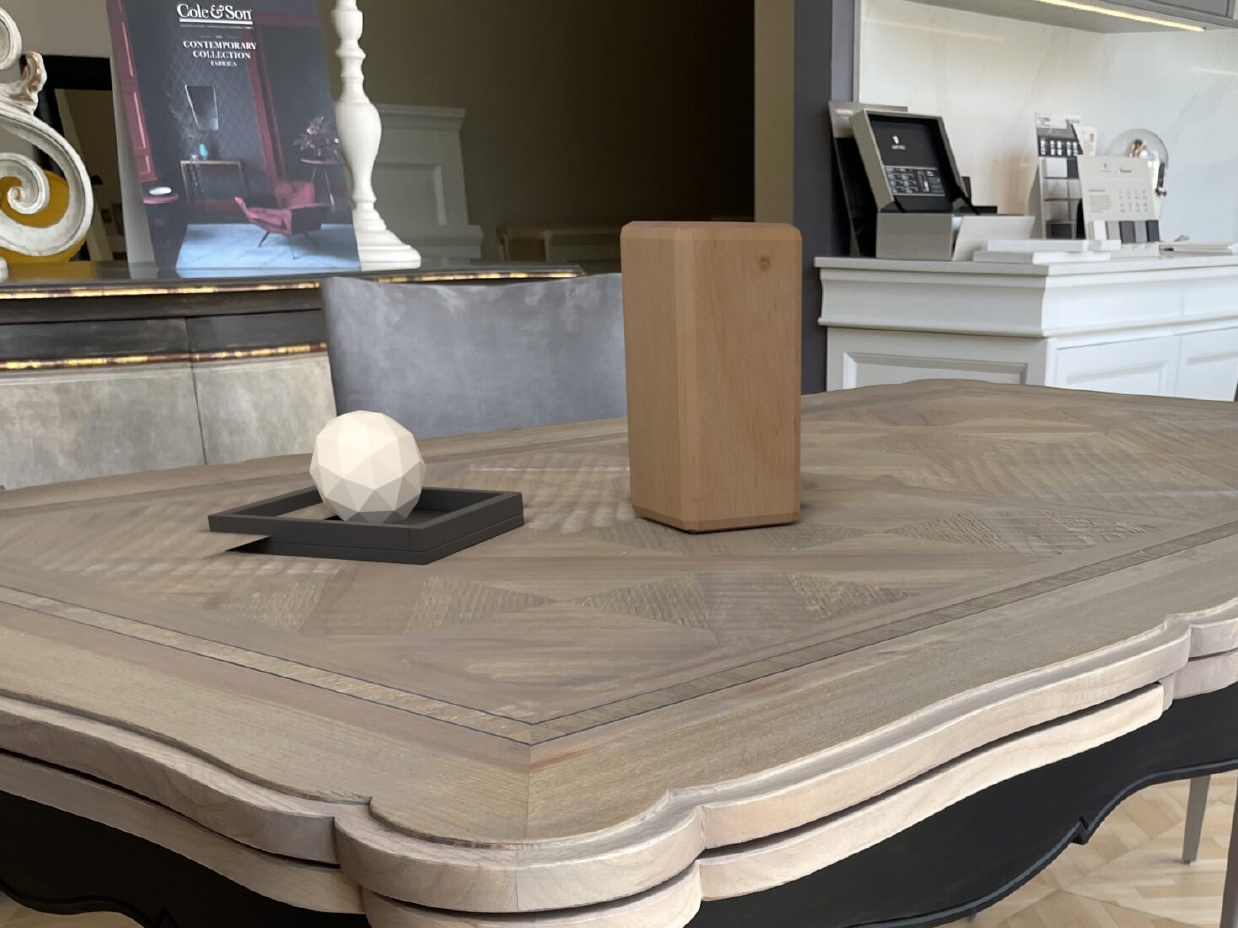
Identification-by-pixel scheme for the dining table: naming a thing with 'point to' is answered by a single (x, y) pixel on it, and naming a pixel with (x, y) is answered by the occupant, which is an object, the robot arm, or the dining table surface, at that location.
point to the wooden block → (713, 372)
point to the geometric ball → (367, 468)
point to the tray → (375, 526)
